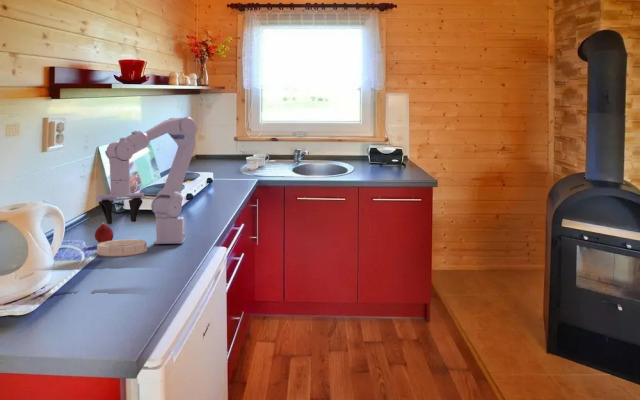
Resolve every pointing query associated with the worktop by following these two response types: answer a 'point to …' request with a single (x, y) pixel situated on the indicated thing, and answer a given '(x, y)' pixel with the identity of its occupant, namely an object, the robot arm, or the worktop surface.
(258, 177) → the worktop surface
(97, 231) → the onion
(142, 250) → the dish
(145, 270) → the worktop surface
